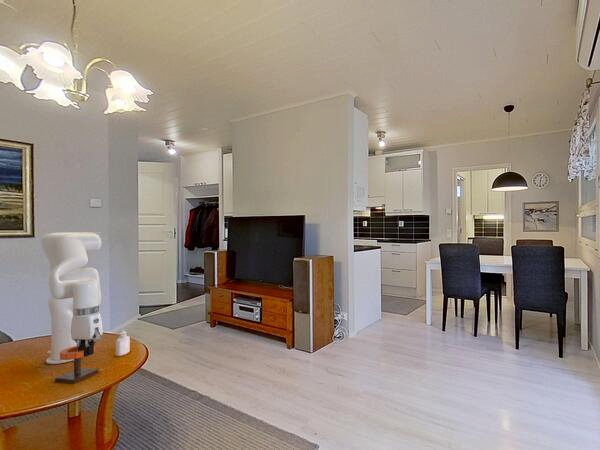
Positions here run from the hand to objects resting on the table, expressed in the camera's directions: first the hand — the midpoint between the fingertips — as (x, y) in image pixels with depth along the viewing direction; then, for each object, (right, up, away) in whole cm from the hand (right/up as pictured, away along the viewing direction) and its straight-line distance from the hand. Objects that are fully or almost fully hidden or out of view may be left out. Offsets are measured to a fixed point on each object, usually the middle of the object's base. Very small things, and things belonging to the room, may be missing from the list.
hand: (86, 354), depth 127 cm
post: (-4, -10, +1) cm, 11 cm away
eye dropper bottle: (-6, -10, +23) cm, 26 cm away
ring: (-4, 0, 0) cm, 4 cm away
